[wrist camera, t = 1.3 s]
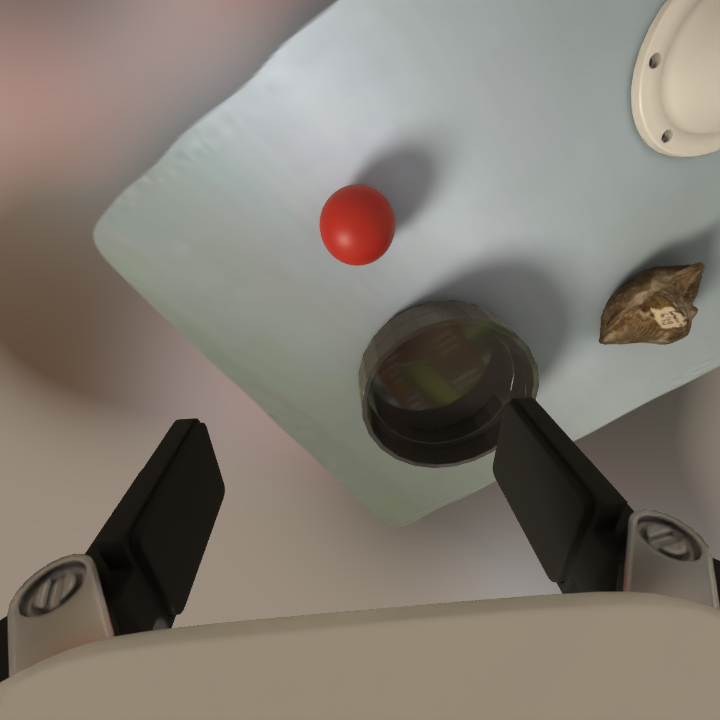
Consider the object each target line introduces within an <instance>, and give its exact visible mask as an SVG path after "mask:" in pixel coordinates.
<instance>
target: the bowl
mask: <svg viewBox="0 0 720 720" xmlns="http://www.w3.org/2000/svg"><path fill="white" fill-rule="evenodd" d="M538 387H539V381H538V368H537V364H536V362H535V360H534V358H533V355H532V353H531V351H530V349H529V347H528V346H527V345H526V344H525V343H524V342H523V341H522V340H521V339H520V338H519V337H518V336H517V335H516V334H515V333H514V332H513V331H512V330H511V329H509V328H508V327H507V326H506V325H505V324H503V323H502V322H501V321H500V320H499V319H498V318H496V317H495V316H494V315H493V314H491V313H489V312H488V311H486V310H484V309H482V308H480V307H478V306H476V305H473V304H468V303H463V302H458V301H439V302H429V303H426V304H423V305H420V306H417V307H414V308H411V309H408V310H406V311H405V312H403V313H402V314H400V315H398V316H397V317H395V318H393V319H392V320H390V321H389V322H388V323H387V324H386V325H385V326H384V327H383V328H382V329H381V330H380V331H379V332H378V333H377V334H376V335H375V336H374V337H373V339H372V340H371V342H370V344H369V346H368V347H367V349H366V351H365V353H364V354H363V358H362V362H361V366H360V370H359V390H360V399H361V408H362V416H363V420H364V423H365V425H366V428H367V430H368V433H369V435H370V436H371V437H372V439H373V440H374V441H375V442H376V444H377V445H378V446H379V447H380V448H381V449H382V450H383V451H385V452H386V453H388V454H389V455H391V456H392V457H394V458H395V459H397V460H400V461H403V462H406V463H408V464H411V465H415V466H422V467H430V468H439V467H451V466H457V465H461V464H464V463H468V462H471V461H475V460H477V459H479V458H481V457H483V456H485V455H487V454H489V453H491V452H493V451H495V450H496V447H497V442H498V437H499V432H500V427H501V422H502V417H503V412H504V407H505V405H506V403H510V400H511V399H512V398H522V397H532V398H534V399H535V400H536V396H537V391H538Z"/></svg>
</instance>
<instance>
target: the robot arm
mask: <svg viewBox="0 0 720 720" xmlns="http://www.w3.org/2000/svg"><path fill="white" fill-rule="evenodd" d="M631 108H632V113H633V118H634V123H635V125H636V127H637V130H638V132H639V134H640V136H641V137H642V139H643V140H644V141H645V142H646V144H647V145H648V146H649V147H651V148H652V149H654V150H655V151H657V152H658V153H661V154H664V155H667V156H670V157H691V156H700V155H704V154H708V153H712V152H715V151H717V150H719V149H720V0H666V2H665V3H664V4H663V6H662V7H661V9H660V10H659V12H658V14H657V16H656V17H655V19H654V21H653V22H652V24H651V26H650V28H649V30H648V32H647V34H646V36H645V39H644V41H643V43H642V46H641V48H640V51H639V54H638V58H637V61H636V65H635V68H634V73H633V80H632V87H631ZM493 473H494V476H495V478H496V480H497V482H498V484H499V486H500V488H501V490H502V492H503V493H504V495H505V497H506V499H507V501H508V503H509V505H510V506H511V508H512V510H513V512H514V514H515V516H516V518H517V520H518V522H519V523H520V525H521V527H522V529H523V531H524V533H525V534H526V537H527V538H528V540H529V542H530V544H531V546H532V548H533V550H534V552H535V553H536V555H537V557H538V559H539V561H540V563H541V564H542V567H543V568H544V570H545V572H546V574H547V576H548V577H549V579H550V580H551V581H552V582H557V584H558V586H559V588H560V590H561V592H562V593H563V594H553V595H538V596H524V597H512V598H499V599H487V600H475V601H463V602H450V603H438V604H428V605H427V604H426V605H415V606H403V607H391V608H381V609H369V610H357V611H346V612H335V613H323V614H312V615H301V616H291V617H279V618H269V619H258V620H247V621H237V622H226V623H216V624H206V625H197V626H188V627H179V628H172V625H173V622H174V619H175V617H176V615H178V614H181V613H182V611H183V610H184V607H185V605H186V602H187V599H188V596H189V594H190V591H191V588H192V585H193V582H194V580H195V577H196V574H197V571H198V568H199V565H200V563H201V560H202V557H203V554H204V551H205V549H206V546H207V543H208V540H209V537H210V534H211V532H212V529H213V526H214V523H215V520H216V517H217V515H218V512H219V509H220V506H221V503H222V501H223V497H224V493H225V487H224V482H223V479H222V476H221V473H220V469H219V466H218V463H217V460H216V456H215V453H214V450H213V447H212V444H211V440H210V437H209V434H208V430H207V427H206V425H205V424H204V423H200V421H199V420H198V419H196V418H195V419H180V420H176V421H175V422H174V423H173V425H172V426H171V428H170V429H169V431H168V432H167V434H166V435H165V437H164V438H163V440H162V441H161V443H160V444H159V446H158V448H157V449H156V450H155V452H154V453H153V455H152V456H151V458H150V459H149V461H148V462H147V464H146V465H145V467H144V468H143V469H142V470H141V472H140V473H139V474H138V476H137V477H136V479H135V480H134V482H133V483H132V485H131V486H130V488H129V489H128V491H127V492H126V494H125V495H124V497H123V498H122V500H121V501H120V503H119V504H118V506H117V507H116V509H115V510H114V512H113V513H112V515H111V516H110V518H109V519H108V520H107V522H106V523H105V525H104V527H103V528H102V529H101V531H100V532H99V534H98V535H97V537H96V538H95V540H94V542H93V543H92V544H91V546H90V547H89V549H88V550H87V552H86V553H85V554H72V555H68V556H65V557H61V558H59V559H57V560H55V561H53V562H51V563H49V564H47V565H46V566H44V567H43V568H41V569H40V570H38V571H37V572H36V573H34V574H33V575H32V576H31V577H30V578H29V579H28V580H26V582H25V583H24V584H23V585H22V586H21V587H20V588H19V590H18V591H17V592H16V593H15V595H14V597H13V599H12V600H11V602H10V604H9V609H8V614H7V616H6V617H5V618H3V619H2V620H0V720H720V561H719V560H716V559H714V558H712V554H711V551H710V549H709V546H708V545H707V544H706V542H705V541H704V539H703V538H702V537H701V536H700V535H699V534H698V533H697V532H696V531H695V530H693V529H692V528H691V527H689V526H688V525H687V524H685V523H684V522H682V521H680V520H679V519H677V518H675V517H672V516H670V515H668V514H665V513H662V512H659V511H655V510H646V509H644V510H638V511H635V512H634V511H633V510H632V509H631V508H630V506H629V505H628V504H627V501H626V500H625V499H624V498H623V497H622V496H621V494H620V493H619V492H618V491H617V490H616V489H615V488H614V487H613V486H612V485H611V483H610V482H609V481H608V480H607V479H606V478H605V477H604V476H603V475H602V473H601V472H600V471H599V470H598V469H597V468H596V467H595V466H594V465H593V463H592V462H591V461H590V460H589V459H588V458H587V457H586V456H585V455H584V454H583V453H582V451H581V450H580V449H579V448H578V447H577V446H576V445H575V444H574V442H573V441H572V440H571V439H570V438H569V437H568V436H567V435H566V434H565V432H564V431H563V430H562V429H561V428H560V427H559V426H558V425H557V424H556V422H555V421H554V420H553V419H552V418H551V417H550V416H549V415H548V414H547V412H546V411H545V410H544V409H543V408H542V407H541V406H540V405H539V404H538V403H537V401H536V400H535V399H534V398H532V397H522V398H512V399H511V400H510V403H506V405H505V407H504V412H503V417H502V422H501V427H500V432H499V437H498V442H497V447H496V452H495V457H494V462H493Z"/></svg>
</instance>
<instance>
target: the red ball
mask: <svg viewBox="0 0 720 720" xmlns="http://www.w3.org/2000/svg"><path fill="white" fill-rule="evenodd" d="M320 232H321V237H322V240H323V242H324V245H325V246H326V248H327V249H328V251H329V252H330V253H331V254H332V255H333V256H334V257H335V258H336V259H338V260H340V261H341V262H344V263H346V264H350V265H366V264H369V263H372V262H374V261H376V260H377V259H379V258H380V257H381V256H382V255H383V254H384V253H385V252H386V251H387V250H388V248H389V246H390V244H391V242H392V240H393V237H394V232H395V218H394V213H393V210H392V208H391V206H390V204H389V202H388V201H387V199H386V198H385V197H384V196H383V195H382V194H381V193H380V192H378V191H377V190H375V189H373V188H371V187H369V186H366V185H349V186H346V187H343V188H341V189H339V190H338V191H336V192H335V193H334V194H333V195H332V196H331V197H330V198H329V199H328V200H327V202H326V203H325V205H324V207H323V210H322V213H321V217H320Z"/></svg>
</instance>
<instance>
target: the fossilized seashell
mask: <svg viewBox="0 0 720 720" xmlns="http://www.w3.org/2000/svg"><path fill="white" fill-rule="evenodd" d="M703 268H704V264H703V263H701V262H698V263H695V264H692V265H684V266H669V267H653V268H650V269H647V270H645V271H643V272H641V273H640V274H639V275H637V276H636V277H635V278H634V279H633V280H632V281H631V282H630V283H627V284H625V285H624V286H622V287H621V288H619V289H618V290H617V291H616V292H615V293H614V294H613V295H612V296H611V298H610V299H609V300H608V302H607V304H606V306H605V308H604V310H603V314H602V316H601V328H600V338H599V343H601V344H628V343H639V342H642V343H643V342H644V343H653V344H670V343H673V342H675V341H678V340H680V339H682V338H684V337H686V336H687V335H688V333H689V331H690V328H691V324H692V319H693V318H694V316H695V315H696V314H697V311H698V309H697V308H696V307H694V306H693V302H694V300H695V298H696V296H697V293H698V288H699V285H700V281H701V277H702V273H703Z"/></svg>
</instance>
